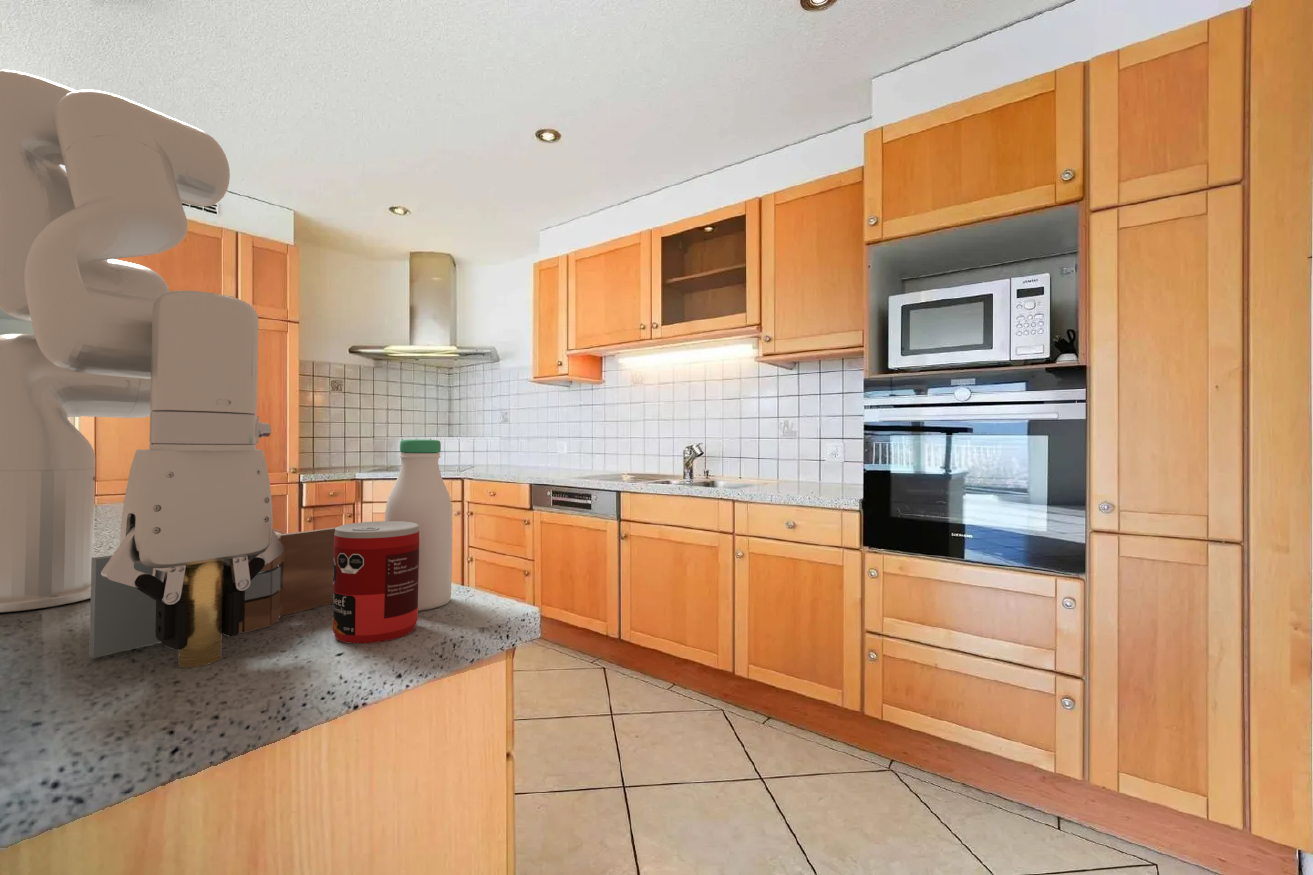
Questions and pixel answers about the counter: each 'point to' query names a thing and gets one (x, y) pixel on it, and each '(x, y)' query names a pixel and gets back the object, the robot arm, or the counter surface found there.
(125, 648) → the hinge leaf swing
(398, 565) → the canned food
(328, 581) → the hinge leaf fixed
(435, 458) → the milk bottle
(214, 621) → the hinge pin
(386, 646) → the counter surface
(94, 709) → the counter surface
